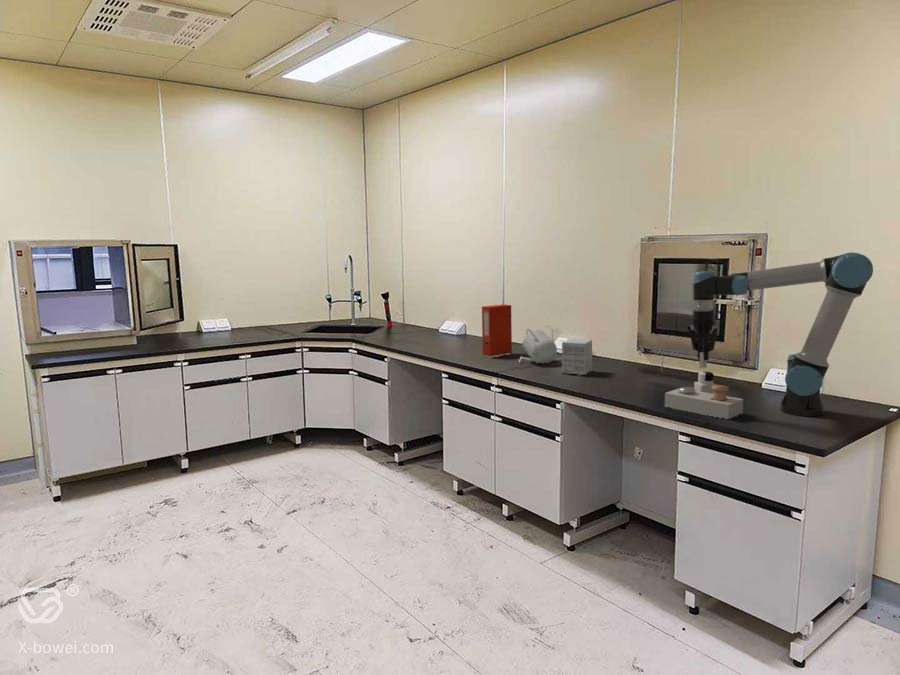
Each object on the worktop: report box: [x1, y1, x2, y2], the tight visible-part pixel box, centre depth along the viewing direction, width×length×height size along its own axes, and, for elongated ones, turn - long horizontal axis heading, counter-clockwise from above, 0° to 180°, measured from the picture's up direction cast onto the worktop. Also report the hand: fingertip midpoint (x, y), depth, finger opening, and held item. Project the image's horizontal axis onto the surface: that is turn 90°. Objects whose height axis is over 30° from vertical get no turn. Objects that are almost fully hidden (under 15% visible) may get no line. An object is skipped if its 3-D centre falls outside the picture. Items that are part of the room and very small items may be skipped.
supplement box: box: [561, 338, 593, 375], centre depth 320 cm, size 13×13×18 cm
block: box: [664, 388, 744, 420], centre depth 243 cm, size 27×12×6 cm, turn 39°
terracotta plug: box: [711, 384, 730, 402], centre depth 237 cm, size 6×6×8 cm
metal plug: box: [678, 386, 695, 395], centre depth 248 cm, size 6×6×8 cm
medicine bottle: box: [693, 371, 717, 394], centre depth 259 cm, size 7×7×12 cm
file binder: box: [481, 303, 513, 356], centre depth 374 cm, size 8×17×32 cm, turn 124°
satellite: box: [518, 325, 562, 364], centre depth 348 cm, size 23×20×25 cm
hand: (703, 367), depth 241 cm, fingers closed
